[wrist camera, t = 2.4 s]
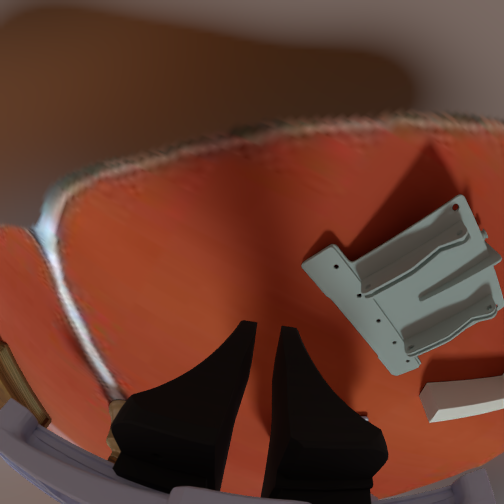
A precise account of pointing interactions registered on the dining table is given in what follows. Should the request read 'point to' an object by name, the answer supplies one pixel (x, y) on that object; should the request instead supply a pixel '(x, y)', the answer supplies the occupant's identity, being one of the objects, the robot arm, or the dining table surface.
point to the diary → (18, 386)
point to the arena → (462, 398)
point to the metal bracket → (415, 285)
